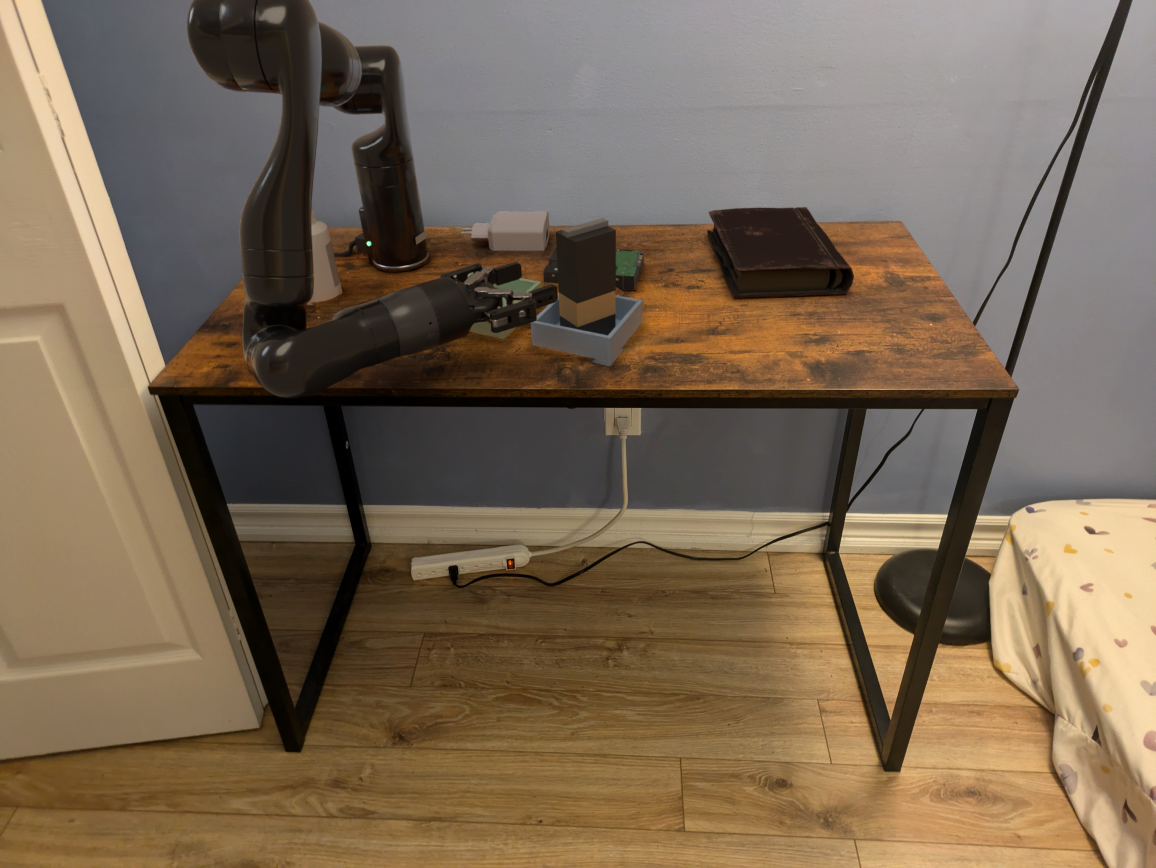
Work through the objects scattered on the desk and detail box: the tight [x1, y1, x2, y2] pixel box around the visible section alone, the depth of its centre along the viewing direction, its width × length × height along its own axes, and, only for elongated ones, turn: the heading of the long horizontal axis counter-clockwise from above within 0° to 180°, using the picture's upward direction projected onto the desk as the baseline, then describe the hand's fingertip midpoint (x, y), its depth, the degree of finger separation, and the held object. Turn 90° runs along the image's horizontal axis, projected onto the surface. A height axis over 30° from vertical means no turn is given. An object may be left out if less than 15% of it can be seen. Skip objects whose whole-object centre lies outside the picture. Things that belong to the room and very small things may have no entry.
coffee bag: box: [555, 217, 617, 336], centre depth 102 cm, size 4×6×16 cm
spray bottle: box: [307, 206, 343, 307], centre depth 115 cm, size 7×7×18 cm
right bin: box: [530, 294, 644, 367], centre depth 106 cm, size 12×12×4 cm
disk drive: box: [542, 247, 645, 291], centre depth 123 cm, size 10×3×15 cm
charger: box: [460, 210, 550, 252], centre depth 134 cm, size 5×9×15 cm
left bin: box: [468, 273, 543, 340], centre depth 112 cm, size 12×12×4 cm
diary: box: [706, 206, 855, 299], centre depth 124 cm, size 19×25×5 cm
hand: (537, 280), depth 97 cm, fingers open, 8 cm apart
